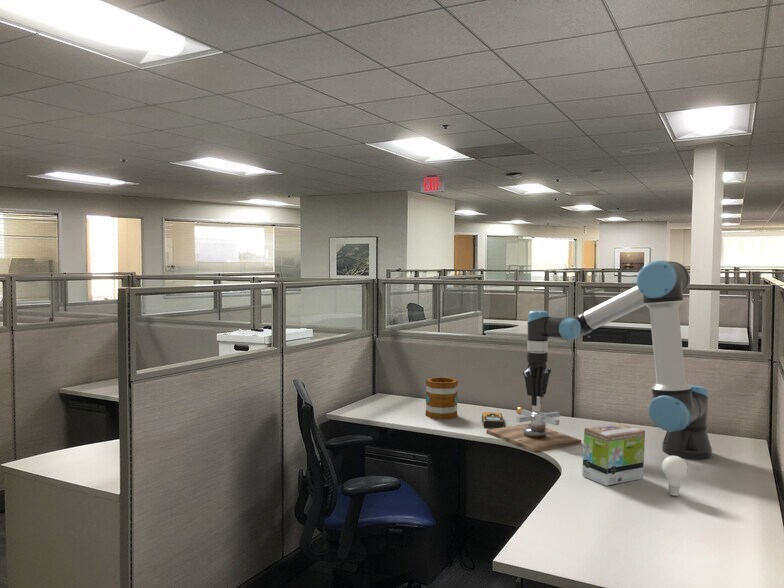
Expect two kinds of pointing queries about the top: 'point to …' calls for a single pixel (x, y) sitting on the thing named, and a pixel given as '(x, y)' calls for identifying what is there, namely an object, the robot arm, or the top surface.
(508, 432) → the wooden board
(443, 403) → the mug
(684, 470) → the lightbulb
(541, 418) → the capstan
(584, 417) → the top surface
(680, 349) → the robot arm
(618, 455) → the tea box
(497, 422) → the electronic device
